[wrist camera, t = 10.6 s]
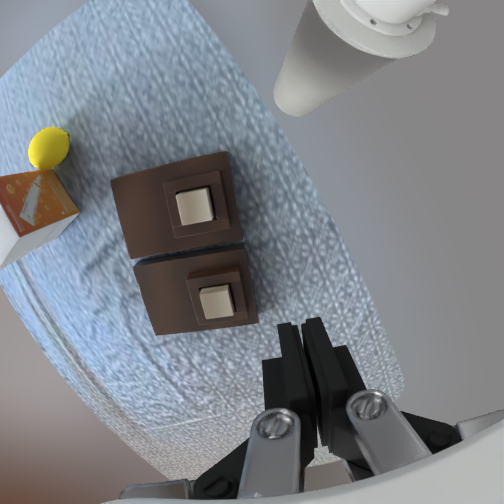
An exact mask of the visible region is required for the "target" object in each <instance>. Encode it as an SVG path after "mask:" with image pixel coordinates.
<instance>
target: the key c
mask: <svg viewBox="0 0 504 504" xmlns="http://www.w3.org/2000/svg"><path fill="white" fill-rule="evenodd" d="M176 199H177V204H178V209H179V213H180V218H181V222H182V225H188V224H194V223H199V222H204V221H210V220H213V218H214V212H213V207H212V202H211V197H210V192H209V188H208V187H207V188H202V189H197V190H192V191H187V192H183V193H179V194H177V195H176Z"/></svg>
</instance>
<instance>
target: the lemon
mask: <svg viewBox="0 0 504 504" xmlns="http://www.w3.org/2000/svg"><path fill="white" fill-rule="evenodd" d="M68 150H69V134H68V133H67V132H65V131H64V130H62V129H60V128H56V127H49V128H44V129H42V130H41V131H40V132H38V133H37V134H36V135H35V136H34V138H33V139H32V141H31V143H30V145H29V150H28V155H29V159H30V162H31V163H32V164H33V165H34V167H36V168H39V169H41V170H45V169H51V168H53V167H55V166H57V165H59V164H60V163H61V162H62V161H63V159H64V158H65V157H66V155H67V153H68Z"/></svg>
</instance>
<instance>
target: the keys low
mask: <svg viewBox="0 0 504 504" xmlns="http://www.w3.org/2000/svg"><path fill="white" fill-rule="evenodd" d="M110 181H111V186H112V191H113V195H114V200H115V204H116V208H117V212H118V216H119V220H120V224H121V228H122V232H123V236H124V239H125V243H126V247H127V250H128V254H129V257H130V259H136V258H142V257H147V256H153V255H158V254H164V253H169V252H175V251H180V250H186V249H192V248H197V247H203V246H209V245H215V244H220V243H226V242H232V241H238V240H243V231H242V226H241V220H240V215H239V209H238V204H237V199H236V193H235V188H234V182H233V177H232V172H231V166H230V161H229V155H228V152H227V151H224V152H219V153H214V154H209V155H204V156H200V157H195V158H191V159H186V160H182V161H177V162H173V163H169V164H165V165H161V166H157V167H153V168H149V169H145V170H142V171H138V172H134V173H131V174H127V175H124V176H120V177H117V178H114V179H111V180H110ZM207 187H208V188H209V192H210V197H211V202H212V207H213V212H214V218H213V220H210V221H204V222H199V223H194V224H188V225H182V222H181V218H180V213H179V209H178V204H177V199H176V195H177V194H179V193H183V192H187V191H192V190H197V189H202V188H207Z"/></svg>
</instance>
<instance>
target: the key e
mask: <svg viewBox="0 0 504 504" xmlns="http://www.w3.org/2000/svg"><path fill="white" fill-rule="evenodd" d="M200 299H201V302H202V306H203V310H204V313H205V317H206V319H212V318H219V317H227V316H233V315H234V305H233V301H232V296H231V292H230V287H229V284H225V285H219V286H212V287H206V288H202V289H201V292H200Z"/></svg>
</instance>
